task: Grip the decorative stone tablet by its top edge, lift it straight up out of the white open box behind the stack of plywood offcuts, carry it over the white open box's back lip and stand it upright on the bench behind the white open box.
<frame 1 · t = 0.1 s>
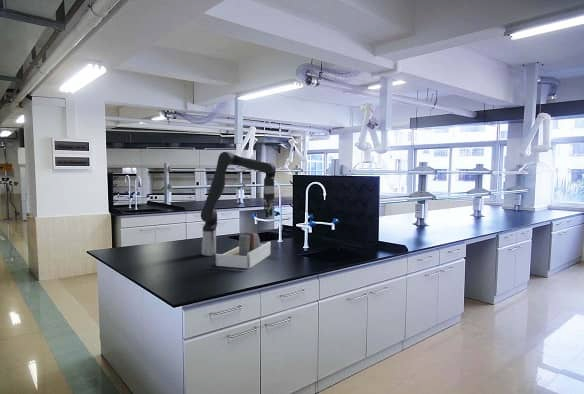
hand: (268, 216, 250), 29 cm above the countertop, tool pointing down, fingers open, 8 cm apart
bottom offcut: (238, 261, 247), on the countertop, touching middle offcut
middle offcut: (239, 258, 249), point 1 cm above the countertop, touching bottom offcut, top offcut
white open box: (249, 261, 245), on the countertop
top offcut: (238, 256, 246), point 3 cm above the countertop, touching middle offcut
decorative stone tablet: (249, 261, 245), on the countertop
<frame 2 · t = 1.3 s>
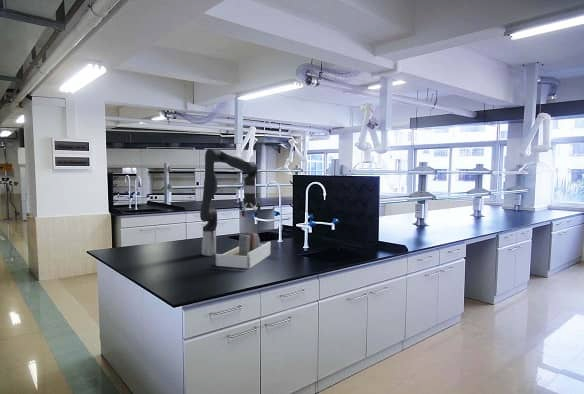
hand: (249, 216, 243), 30 cm above the countertop, tool pointing down, fingers open, 8 cm apart
nothing on the countertop moved.
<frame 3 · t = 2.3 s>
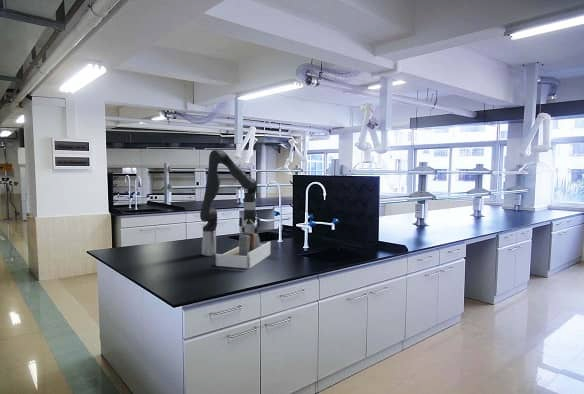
hand: (249, 233, 244), 19 cm above the countertop, tool pointing down, fingers open, 8 cm apart
nothing on the countertop moved.
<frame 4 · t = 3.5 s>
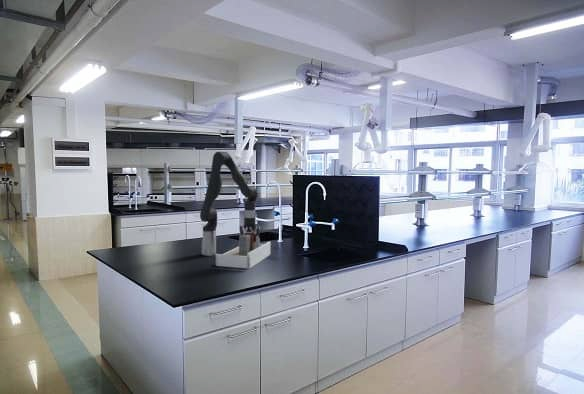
hand: (249, 241, 244), 13 cm above the countertop, tool pointing down, fingers closed on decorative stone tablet, 6 cm apart
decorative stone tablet: (249, 261, 245), on the countertop, touching gripper
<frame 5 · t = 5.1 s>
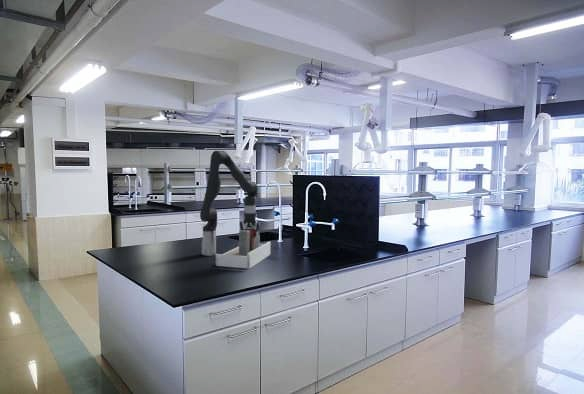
hand: (249, 237, 244), 16 cm above the countertop, tool pointing down, fingers closed on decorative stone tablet, 6 cm apart
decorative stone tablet: (249, 257, 245), point 3 cm above the countertop, touching gripper
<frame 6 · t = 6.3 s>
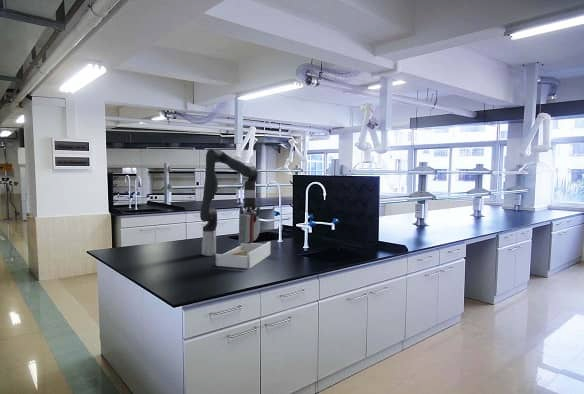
hand: (249, 222, 243), 26 cm above the countertop, tool pointing down, fingers closed on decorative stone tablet, 6 cm apart
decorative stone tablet: (249, 242, 244), point 13 cm above the countertop, touching gripper
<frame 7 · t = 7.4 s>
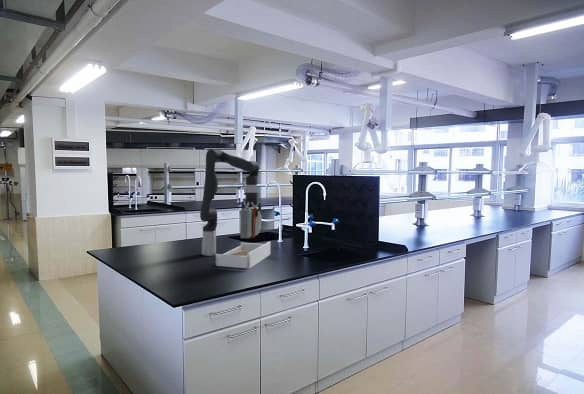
hand: (251, 217, 243), 30 cm above the countertop, tool pointing down, fingers closed on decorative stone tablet, 6 cm apart
middle offcut: (240, 257, 249), point 1 cm above the countertop, touching bottom offcut
top offcut: (240, 255, 248), point 3 cm above the countertop
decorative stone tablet: (251, 237, 244), point 16 cm above the countertop, touching gripper
everything else where it was.
when the fingers open (14 cm above the countertop, at t = 13.8 s): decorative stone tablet drops 1 cm, on the countertop.
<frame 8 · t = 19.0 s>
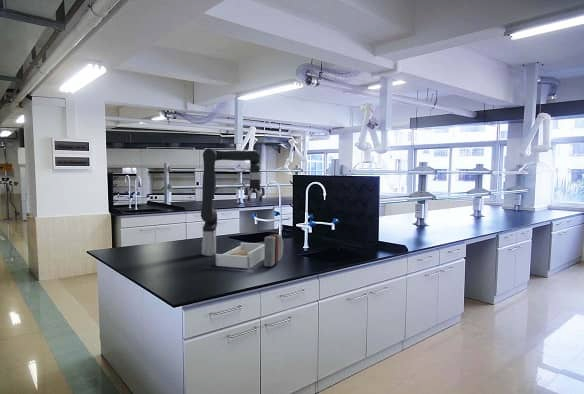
hand: (254, 201, 265), 38 cm above the countertop, tool pointing down, fingers open, 8 cm apart
middle offcut: (241, 258, 249), point 1 cm above the countertop, touching bottom offcut, top offcut
top offcut: (240, 255, 248), point 3 cm above the countertop, touching middle offcut
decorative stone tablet: (274, 263, 240), on the countertop
at the end: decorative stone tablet inside the target area (0.3 cm from its centre), on the countertop; the gripper is holding nothing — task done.
